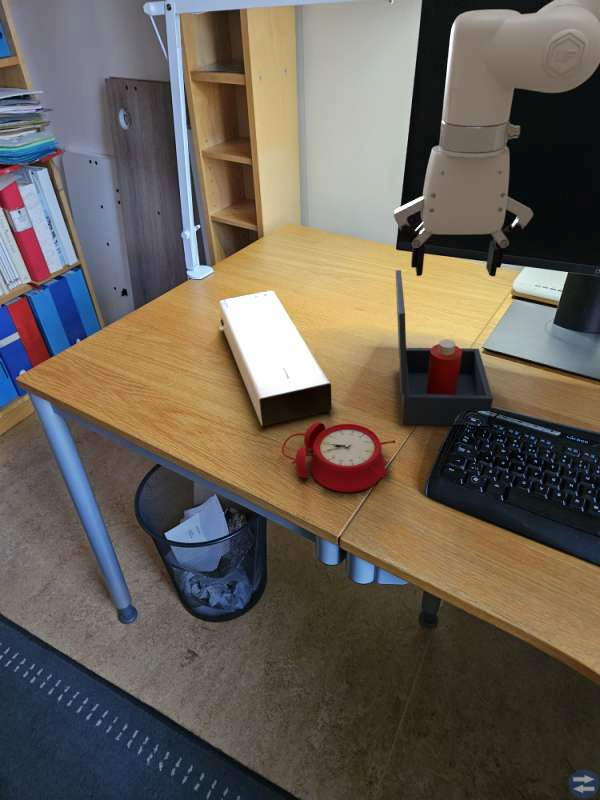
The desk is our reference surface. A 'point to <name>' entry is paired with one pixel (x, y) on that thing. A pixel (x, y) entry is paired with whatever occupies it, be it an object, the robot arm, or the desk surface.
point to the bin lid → (401, 331)
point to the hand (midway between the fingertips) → (454, 272)
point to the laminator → (273, 359)
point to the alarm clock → (341, 456)
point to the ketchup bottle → (444, 368)
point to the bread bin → (443, 408)
